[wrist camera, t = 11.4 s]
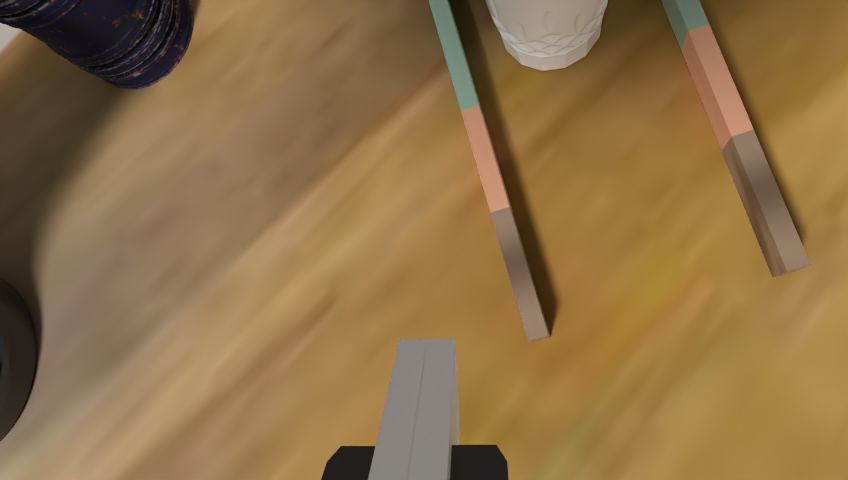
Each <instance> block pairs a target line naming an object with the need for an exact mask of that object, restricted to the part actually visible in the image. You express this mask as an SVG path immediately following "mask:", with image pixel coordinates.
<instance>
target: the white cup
mask: <svg viewBox="0 0 848 480" xmlns="http://www.w3.org/2000/svg"><path fill="white" fill-rule="evenodd" d="M485 1H486V3H487V6H488V9H489V12H490V14H491V16H492V19H493V21H494V24H495V26H496V27H497V29H498V30H499V32H500V34H501V37H502V40H503V43H504V46H505V49H506V51H507V52H508V53H509V54H510V55H512V56H513V57H514V58H515V59H516V60H517V61H518V62H519V63H520V64H521V65H524V66H527V67H530V68H534V69H537V70H541V71H546V70H553V69H561V68H566V67H568V66H569V65H571V64H573V63H575V62H576V61H578V60H580V59H581V58H583V57H585V56H586V55H587V54H588V52H589V51H590V50H591V48H592V47H593V45H594V44H595V43H596V41H597V40H598V38H599V37H600V32H601V26H602V20H603V15H604V12H605V9H606V7H607V4H608V0H485Z"/></svg>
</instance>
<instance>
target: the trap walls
mask: <svg viewBox="0 0 848 480" xmlns="http://www.w3.org/2000/svg"><path fill="white" fill-rule="evenodd" d="M681 51H682V54H683V56H684V59H685V61H686V64H687V66H688V69H689V71H690V74H691V76H692V79H693V81H694V83H695V86H696V88H697V91H698V93H699V96H700V98H701V101H702V103H703V106H704V108H705V111H706V113H707V116H708V118H709V121H710V123H711V126H712V128H713V131H714V133H715V135H716V138H717V140H718V143H719V145H720V148H721V150H723V148H724V147H725V145H726V144H727V143H728V141H729V140H730V138H731V137H732V136H735V135H738V134H742V133H745V132H748V131H751V130H754V129H753V127H752V124H751V122H750V119H749V117H748V115H747V112H746V110H745V108H744V105H743V103H742V101H741V98H740V96H739V93H738V91H737V89H736V86H735V84H734V82H733V79H732V77H731V74H730V72H729V70H728V67H727V65H726V63H725V60H724V58H723V56H722V53H721V51H720V48H719V46H718V44H717V41H716V39H715V37H714V34H713V32H712V29H711V27H710V25H709V23H708V24H705V25H703V26H700V27H697V28H694V29H691V30H688V32H687V35H686V38H685V41H684V44H683V47H682V50H681ZM461 113H462V117H463V120H464V123H465V127H466V130H467V134H468V137H469V140H470V144H471V147H472V151H473V154H474V157H475V161H476V164H477V168H478V171H479V175H480V178H481V181H482V185H483V188H484V192H485V195H486V198H487V202H488V205H489V209H490V212H495V211H498V210H501V209H504V208H507V207H510V208H511V210H512V207H511V204H510V201H509V197H508V194H507V191H506V187H505V184H504V181H503V177H502V174H501V171H500V168H499V164H498V161H497V158H496V154H495V151H494V148H493V144H492V141H491V138H490V135H489V131H488V128H487V125H486V121H485V118H484V116H483V114H482V111H481V109H480V106H479V105H476V106H474V107H471V108H468V109H465V110H462V111H461ZM512 212H513V210H512Z"/></svg>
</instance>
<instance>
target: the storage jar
mask: <svg viewBox="0 0 848 480" xmlns="http://www.w3.org/2000/svg"><path fill="white" fill-rule="evenodd" d="M0 23H3V24H6V25H9V26H11V27H14V28H19V29H22V30H23V31H25V32H27V33H29V34H30V35H32V36H34V37H36V38H37V39H39V40H41V41H43V42H44V43H46V44H47V45H48V46H49V47H50V48H51V50H53V51H54V52H56V53H57V54H59V55H60V56H62V57H64V58H65V59H67V60H69V61H70V62H71V63H73V64H74V65H76V66H77V67H79V68H81V69H83V70H84V71H86V72H88V73H91V74H93V75H96V76H98V77H100V78H103V79H104V80H105V81H107V82H108V83H110V84H112V85H114V86H116V87H119V88H123V89H141V88H144V87H148V86H150V85H152V84H155V83H157V82H158V81H160V80H161V79H163V78H164V77H166V76H167V75H168V74H169V73H170V72H171V71H172V70H173V69H174V68H175V67H176V66H177V65H178V63H179V62H180V60H181V59H182V57H183V56H184V54H185V52H186V50H187V48H188V45H189V43H190V40H191V36H192V31H193V14H192V10H191V6H190V4H189V2H188V0H0Z"/></svg>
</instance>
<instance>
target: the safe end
mask: <svg viewBox="0 0 848 480" xmlns="http://www.w3.org/2000/svg"><path fill="white" fill-rule="evenodd" d="M661 2H662V4H663V6H664V9H665V11H666V14H667V16H668V19H669V21H670V24H671V26H672V29H673V31H674V34H675V36H676V39H677V41H678V44H679V46H680V49H681V50H682V47H683V44H684V41H685V38H686V35H687V32H688V30H691V29H694V28H697V27H700V26H703V25H705V24H708V23H709V22H708V20H707V17H706V15H705V13H704V10H703V8H702V5H701V3H700V1H699V0H661ZM429 4H430V7H431V10H432V14H433V17H434V21H435V24H436V27H437V31H438V34H439V38H440V41H441V45H442V48H443V51H444V55H445V58H446V62H447V65H448V68H449V72H450V75H451V79H452V82H453V85H454V89H455V92H456V96H457V99H458V103H459V106H460V109H461V111H462V110H465V109H468V108H471V107H474V106H476V105H479V106H480V109H481V111H482V108H481V104H480V101H479V98H478V95H477V91H476V88H475V85H474V81H473V78H472V75H471V71H470V68H469V65H468V62H467V58H466V55H465V52H464V48H463V45H462V42H461V38H460V35H459V32H458V29H457V25H456V22H455V19H454V15H453V12H452V9H451V5H450V2H449V0H429ZM482 114H483V111H482ZM483 116H484V114H483Z"/></svg>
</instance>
